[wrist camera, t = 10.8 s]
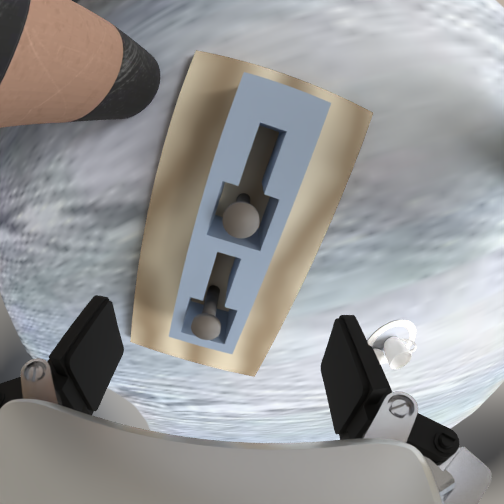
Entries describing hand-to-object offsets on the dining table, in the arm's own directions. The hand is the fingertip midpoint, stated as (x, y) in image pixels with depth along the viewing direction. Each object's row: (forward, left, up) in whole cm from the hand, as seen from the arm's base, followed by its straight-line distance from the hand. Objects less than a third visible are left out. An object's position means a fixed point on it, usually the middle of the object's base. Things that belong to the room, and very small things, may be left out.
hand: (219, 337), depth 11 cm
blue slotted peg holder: (0, -1, -15) cm, 15 cm away
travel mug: (+14, -10, -16) cm, 24 cm away
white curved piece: (-21, +9, -17) cm, 28 cm away
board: (0, +2, -16) cm, 16 cm away
